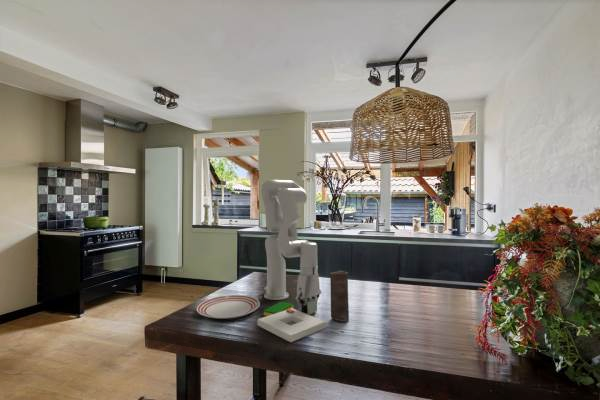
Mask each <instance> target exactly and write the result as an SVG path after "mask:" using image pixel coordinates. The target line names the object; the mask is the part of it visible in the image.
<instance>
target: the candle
mask: <svg viewBox="0 0 600 400" xmlns="http://www.w3.org/2000/svg"><path fill="white" fill-rule="evenodd" d="M348 275H349V273H348V272H347V271H344V270H337V271H333V272H330V276H329V277H330V279H329V280H330V318H331V319H332V320H335V321H337V322H342V323H343V322H344V323H345V322H349V320H350V315H349V313H350V311H349V310H350V309H349V308H350V307H349V282H348V281H349V279H348V278H349V276H348Z"/></svg>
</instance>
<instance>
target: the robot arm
mask: <svg viewBox="0 0 600 400" xmlns="http://www.w3.org/2000/svg"><path fill="white" fill-rule="evenodd" d="M260 187H261V188H260V195H261V199H262V201H263V202H262V203H263V205H264V214H265V215H264V216H265V223H266V229H267V231H268V232H270V233H278V234H273V235H269V236H267V237H266V239H265V240H264V242H265V243H264V247H265V248H264V249H265V252H266V254H265V255H266V286H264V290H266V291H265V293H264V295H263V297H264V299H267V300H270V301H280V300H281V301H283V300H286V299H288V298H289V296H290V294H289V292H287V291H286V290H287V286H286V285H287V282H286V281H287V280H286V278H287V276H286V275H287V273H286V268H287V267H286V265H287V264H286V259H285V258H288V259H291V258H298V257H299V263H300V264H299V268H300V269H299V271H300V272H299V274H298V276H297V284H296V285H297V286H296V296H295V300H296V301H297V302H298V303H299V304H300V312H303V313H305V314H307V305H306V303H307V298H312V299H315V300H317V302H318V300H319V298H320V295H321V294H322V290H321V289H320V277H319V272H318V269H319V266H318V244H317V243H316V242H315V241H309V240H307V239H299V238H298V229H297V222H299V221H300V220H302V219H301V218H302V216H301V211H300V207H299V206H302V205H305V204H306V202H307V200H308V197H307V192H306V190H305V189H304V188H303V187H302V186H300V185H299V184H298V183H297V182H295V181H293V180H291V179H290V180H289V179H274V178H273V179H267V180H265V181H264V182H263V183H262V184H261V186H260ZM276 197H278V198H276ZM284 257H285V258H284ZM303 299H304V301H303Z"/></svg>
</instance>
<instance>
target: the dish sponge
mask: <svg viewBox="0 0 600 400" xmlns="http://www.w3.org/2000/svg"><path fill="white" fill-rule="evenodd" d="M291 308H292V309H295V308H294V303H291V302H286V301H280V302H278V303H274V304H273V305H272V306H269V307H268V308H265V309H264V310H263V316H264V317H266V316H269V315H272V314H276V313H279V312H282V311H285V310H288V309H291Z"/></svg>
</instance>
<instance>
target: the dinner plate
mask: <svg viewBox="0 0 600 400" xmlns="http://www.w3.org/2000/svg"><path fill="white" fill-rule="evenodd" d="M260 305H261V302H260V300H259V299H257V298H256V297H253V296H251V295H250V296H249V295H244V294H228V295H227V294H226V295H220V296H215V297H212V298H208V299H206V300H204V301H202V302H201V303H199V304H198V305H197V307H196V312H197V313H198V314H199V315H201V316H204V317H205V318H209V319H217V320H218V319H219V320H231V319H236V318H240V317H243V316H244V317H245V316H247V315H249V314H251V313H253V312H254V311H256V310H257V309H258V308H259V307H260Z"/></svg>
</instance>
